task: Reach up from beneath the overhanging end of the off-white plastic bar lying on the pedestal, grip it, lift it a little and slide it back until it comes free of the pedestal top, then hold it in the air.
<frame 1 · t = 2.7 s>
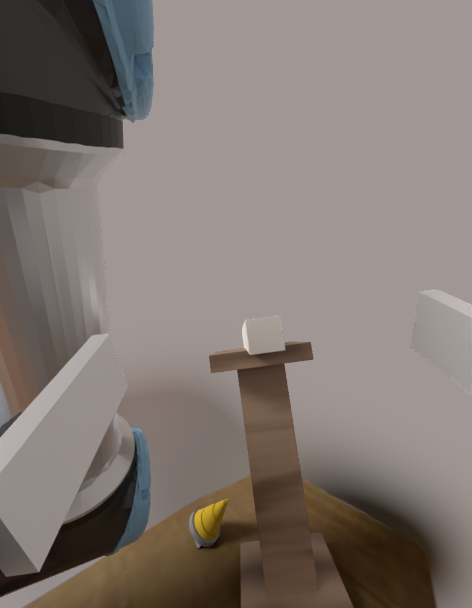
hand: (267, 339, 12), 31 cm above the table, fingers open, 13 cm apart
bar: (257, 348, 35), point 30 cm above the table, touching pedestal
drill bit: (213, 541, 44), on the table
pedestal: (290, 589, 34), on the table
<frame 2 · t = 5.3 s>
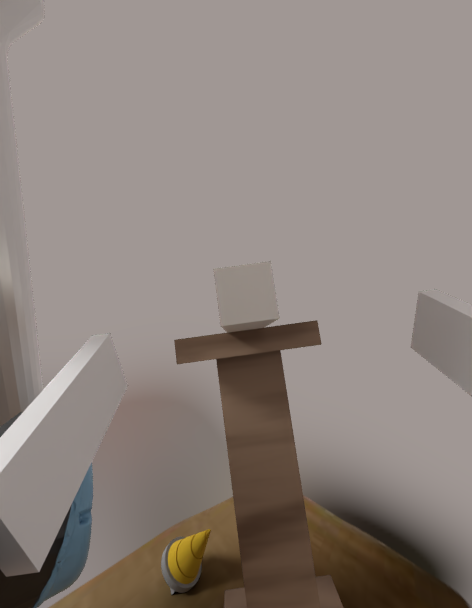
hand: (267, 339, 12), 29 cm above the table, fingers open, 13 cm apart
bar: (244, 331, 26), point 30 cm above the table, touching pedestal
drill bit: (192, 583, 35), on the table
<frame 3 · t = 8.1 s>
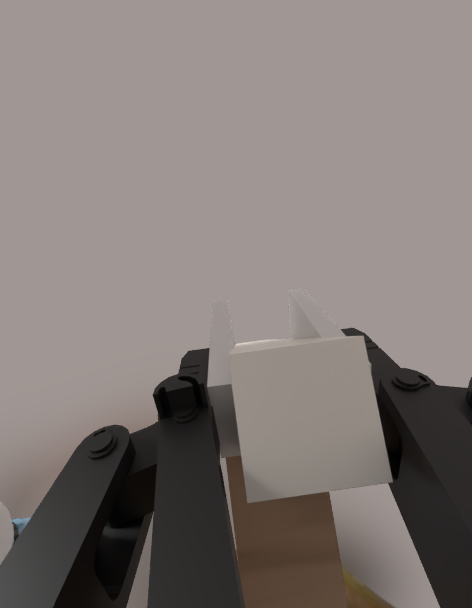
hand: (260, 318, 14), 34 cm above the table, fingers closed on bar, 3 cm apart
bar: (264, 389, 17), point 30 cm above the table, touching gripper, pedestal
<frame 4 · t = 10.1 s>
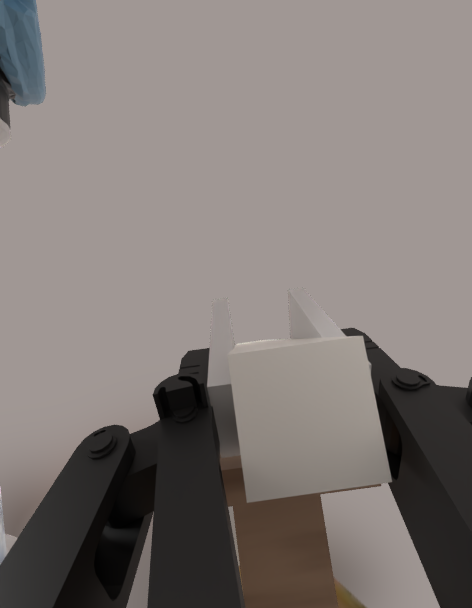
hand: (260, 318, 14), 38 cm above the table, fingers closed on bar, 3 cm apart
bar: (265, 389, 17), point 34 cm above the table, touching gripper
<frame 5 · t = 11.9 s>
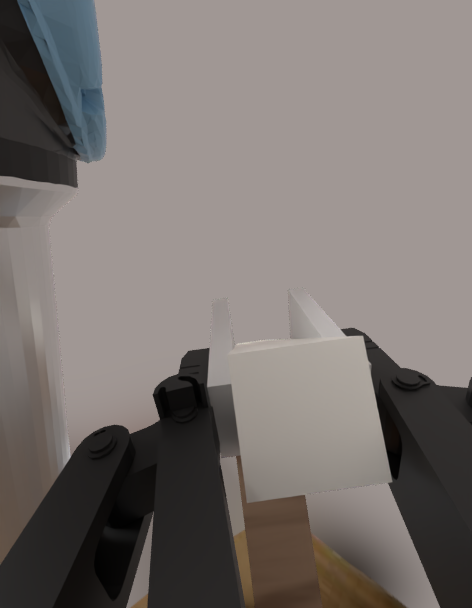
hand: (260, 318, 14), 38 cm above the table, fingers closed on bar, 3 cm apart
bar: (265, 389, 17), point 34 cm above the table, touching gripper
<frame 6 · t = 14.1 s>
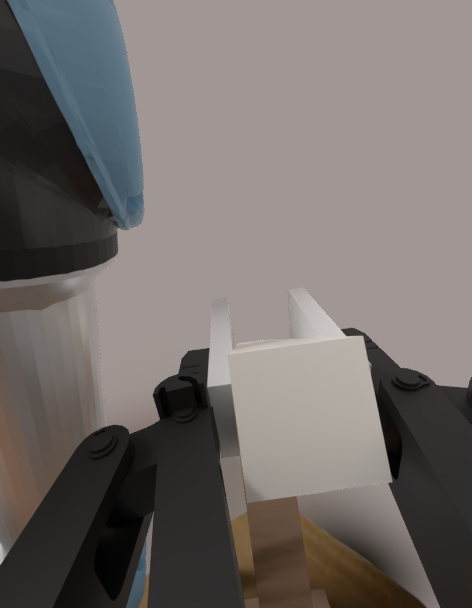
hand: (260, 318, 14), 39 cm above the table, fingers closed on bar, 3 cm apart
bar: (265, 389, 17), point 35 cm above the table, touching gripper
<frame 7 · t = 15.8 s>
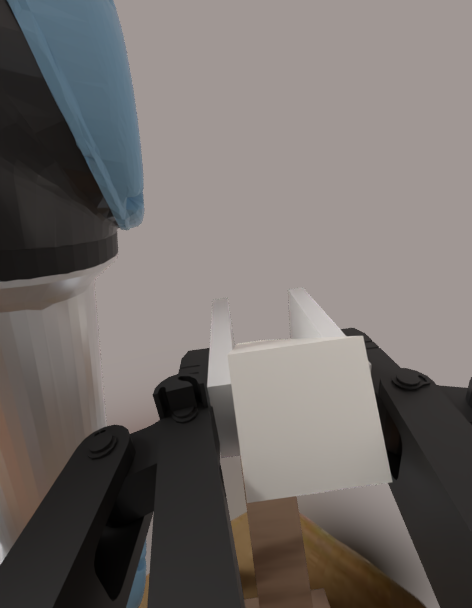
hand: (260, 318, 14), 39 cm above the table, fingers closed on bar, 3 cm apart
bar: (265, 389, 17), point 35 cm above the table, touching gripper
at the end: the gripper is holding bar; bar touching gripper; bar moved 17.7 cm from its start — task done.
